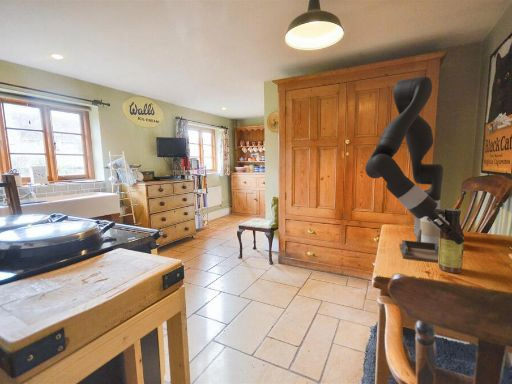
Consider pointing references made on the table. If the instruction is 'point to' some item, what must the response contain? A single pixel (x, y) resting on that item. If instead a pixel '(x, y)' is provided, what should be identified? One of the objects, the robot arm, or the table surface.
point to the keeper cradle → (419, 249)
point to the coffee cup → (430, 229)
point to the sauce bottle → (451, 244)
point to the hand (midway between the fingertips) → (457, 239)
